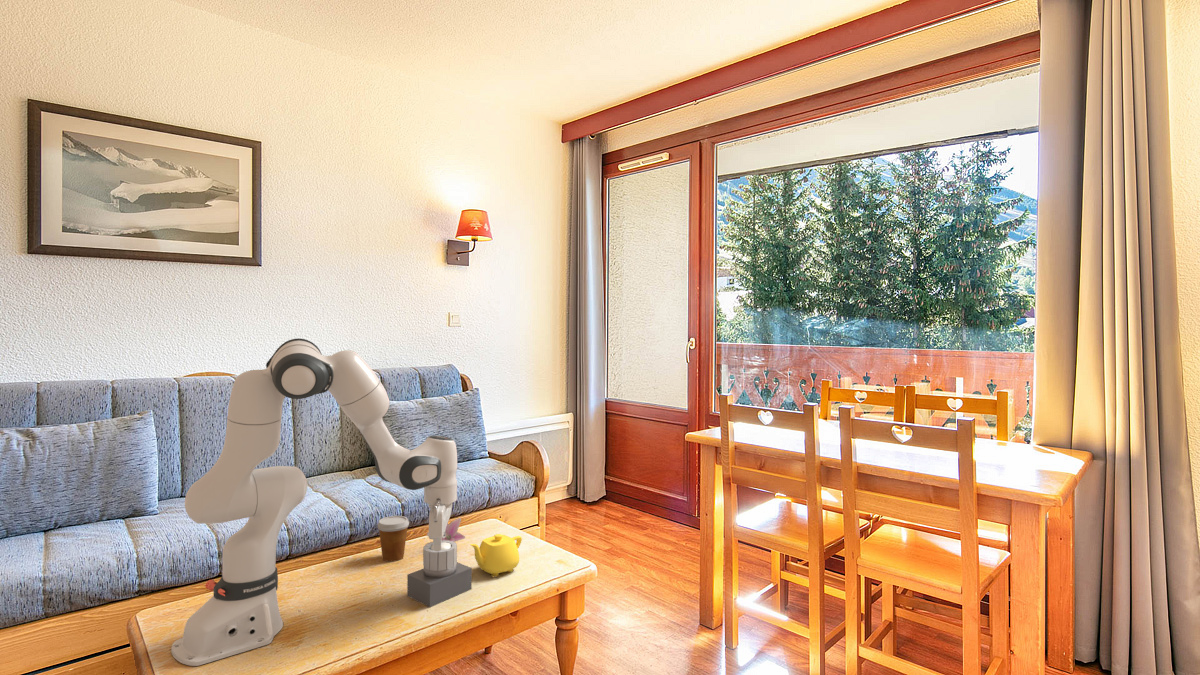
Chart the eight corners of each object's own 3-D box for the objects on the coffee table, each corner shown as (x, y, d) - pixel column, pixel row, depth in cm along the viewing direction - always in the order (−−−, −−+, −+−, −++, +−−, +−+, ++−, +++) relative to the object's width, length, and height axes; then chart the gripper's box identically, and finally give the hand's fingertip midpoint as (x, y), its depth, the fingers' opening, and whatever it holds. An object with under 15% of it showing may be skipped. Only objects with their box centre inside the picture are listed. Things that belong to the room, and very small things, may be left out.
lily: (424, 549, 202) (419, 529, 197) (452, 528, 210) (449, 508, 205) (447, 569, 196) (443, 549, 191) (475, 546, 203) (472, 527, 198)
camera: (430, 607, 160) (430, 558, 160) (407, 596, 166) (407, 549, 166) (471, 588, 171) (471, 543, 171) (448, 579, 177) (449, 535, 177)
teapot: (479, 585, 174) (479, 548, 174) (460, 572, 182) (460, 537, 182) (531, 568, 186) (531, 534, 186) (511, 557, 194) (511, 524, 194)
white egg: (438, 569, 165) (438, 550, 165) (427, 563, 169) (427, 545, 168) (454, 563, 169) (454, 545, 169) (443, 558, 173) (443, 540, 172)
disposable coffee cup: (386, 566, 186) (386, 527, 185) (371, 557, 192) (371, 520, 192) (414, 557, 193) (415, 520, 192) (399, 549, 199) (399, 513, 199)
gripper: (447, 505, 158) (447, 558, 159) (456, 483, 178) (455, 530, 179) (422, 506, 157) (422, 558, 158) (433, 484, 178) (433, 531, 178)
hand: (440, 543), depth 168 cm, fingers open, 8 cm apart
